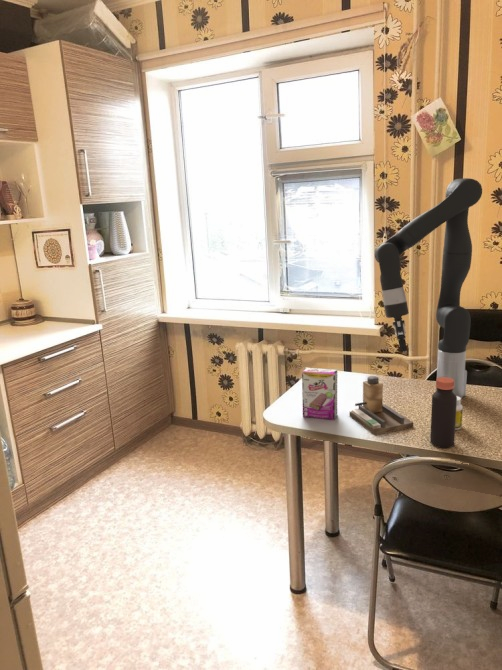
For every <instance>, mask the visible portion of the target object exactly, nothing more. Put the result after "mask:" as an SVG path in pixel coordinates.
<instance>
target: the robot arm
mask: <svg viewBox="0 0 502 670" xmlns="http://www.w3.org/2000/svg"><path fill="white" fill-rule="evenodd" d="M446 187H447V188H446V191H445V198H444V199H443V200H441V202H440V203H438V204H437V205H435V206H434V207H431V208H430V209H428V210H427V211H425V212H423V213H422V214H419V215H418V216H416V217H415V218H413V219H412V220H411V221H410V222H408V223H406V224H405V225H404V226H403V227H402V228H401V229H400V230H398V231H397V232H396V233H395V234H394V235H392V236H391V237H389V238H388V239H387V240H385V241H384V242H382V243H381V244H380V245H379V246H377V248H376V249H375V251H374V259H375V261H376V262H377V263H378V265H379V266H378V267H379V270H380V277H379V280H380V286H381V287H380V288H381V294H382V296H381V297H382V302H383V308H384V313H385V317H386V318H388V319H391V318H393V320H394V321H392V327H393V329H394V334H395V336H396V340H397V341H398V346H399V351H400V352H407V351H408V350H407V349H408V348H407V342H406V337H407V336H406V333H407V332H406V321H405V319H404V320H403V316H407V315H409V314H410V313H409V307H408V301H407V296H406V292H405V288H404V284H403V283H404V282H403V278H402V274H401V259H400V256H401V255H403V253H404V252H406V251H407V250H408V249H411V248H413V247H414V246H415V245H417V244H418V243H419V242H420V241H422V240H424V239H425V238H426V237H427V236H428V235H429V234H430V233H432V232H433V231H435V230H436V229H437V228H439V227H440V226H442V225H443V224H444V223H445V231H444V240H443V249H442V250H443V251H442V258H441V259H442V261H441V262H442V263H441V276H440V277H441V278H440V288H439V289H440V292H439V296H438V297H439V298H438V300H437V307H436V312H435V318H436V322H437V324H438V325H439V326H440V327H441V328H443V338H442V339H439V341H438V345H437V366H436V367H437V368H436V379H437V378H440V377H448V378H452V379H453V380H454V389H453V393H454V394H455V395H456V396H458V397H460V398H461V399H462V398H464V397H465V396H466V395H467V376H468V371H467V369H466V355H467V354H466V353H467V352H466V351H467V346H468V344H469V340H470V334H471V323H472V322H471V321H472V319H471V315H470V312H469V311H468V309H467V308H466V307H463V306H461V290H462V287H463V284H464V283H465V280H466V279H467V277H468V274H469V272H470V270H471V265H472V256H473V255H472V254H473V243H472V238H471V234H470V229H469V224H468V222H469V221H468V220H469V219H468V218H469V209H470V207H473V206H474V205H476V204H477V203H478V202H479V201H480V199H481V198H482V195H483V187H482V184H481V183H480V182H479V181H478V180H476V179H473V178H471V177H470V178H468V177H467V178H456V179H454V180H451V182H450V183H449V184H448V186H446ZM436 391H437V389H436V388H435V392H436Z"/></svg>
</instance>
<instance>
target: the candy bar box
mask: <svg viewBox="0 0 502 670" xmlns="http://www.w3.org/2000/svg"><path fill="white" fill-rule="evenodd" d="M301 371H302V372H301V381H302V383H301V385H302V391H301V392H302V393H301V394H302V417H303V418H314V419H323V420H332V421H334V420H336V418H337V416H338V369H332V368H331V369H329V368H318V367H317V368H316V367H304V369H303V370H301Z"/></svg>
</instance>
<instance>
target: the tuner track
mask: <svg viewBox="0 0 502 670" xmlns="http://www.w3.org/2000/svg"><path fill="white" fill-rule="evenodd" d="M349 417H350V418H352V419H353V420H355V422H357V423H358V424H359V425H361V426H362V427H363V428H365V429H367V430H368V431H369V432H370V433H372V434H373V435H374V436H377V435H381V434H385V433H390V432H395V431H400V430H404V429H405V430H406V429H410V428H414V421H412V420H410V419H409V418H407V417H406V416H404V415H403V414H402V413H400V412H398V411H396V410H394V408H392V407H390V406H389V405H387V404H382V412H377V413H372V412H371V411H370V410H368V409H367V408H365V407H364V406H363V405H359V406H358V408H353V409H351V411H349Z"/></svg>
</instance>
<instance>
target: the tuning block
mask: <svg viewBox="0 0 502 670" xmlns="http://www.w3.org/2000/svg"><path fill="white" fill-rule="evenodd" d="M379 379H380V378H379V376H375V375H369V376H368V377H367V380H366V381H363V382H362V402H357V403H355V405H354V406H355V407H359V405H362V406H364V407H365V408H367V409H368V410H370V411H371V412H372V413H377V412H382V404H383V402H384V401H383V400H384V399H383V398H384V396H383V395H384V389H383V388H384V387H383V386H384V383H383V382H382V381H380V380H379Z"/></svg>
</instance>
